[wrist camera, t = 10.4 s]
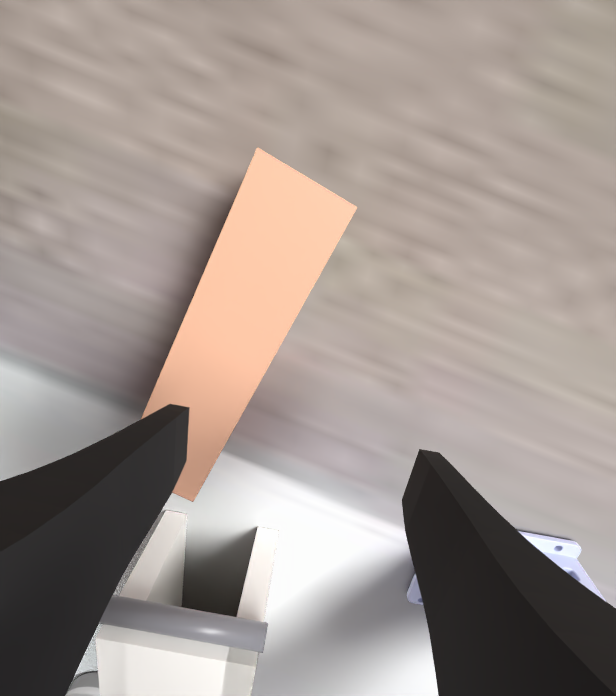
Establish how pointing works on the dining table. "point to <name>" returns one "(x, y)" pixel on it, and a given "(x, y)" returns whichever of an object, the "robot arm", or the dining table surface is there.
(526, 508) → the dining table surface
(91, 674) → the travel mug
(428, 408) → the dining table surface
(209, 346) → the orange long block
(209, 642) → the dispenser
